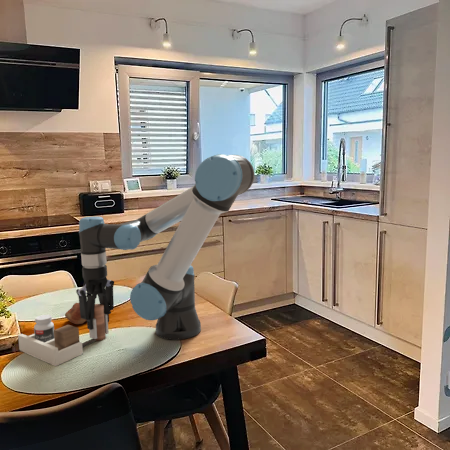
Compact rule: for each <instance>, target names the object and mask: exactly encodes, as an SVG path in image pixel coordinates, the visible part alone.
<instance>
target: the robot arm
mask: <svg viewBox="0 0 450 450" xmlns="http://www.w3.org/2000/svg"><path fill="white" fill-rule="evenodd" d="M254 181H255V170H254V167H253V165H252V163H251V162H250V160H249V159H247V158H246V157H244V155H243V156H242V155H239V154H222V153H220V154H218V153H217V154H214V155H212V156H209V157H207V158H206V159H204V160H203V161H202V162H200V164H199V165H198V167H197V169H196V171H195V174H194V183H195V184H194V185H193V186H192V187H190V188H188V189H187V190H185V191H183V192H182V193H180V194H178V195H176V196H175V197H173V198H171V199H170V200H168V201H166V202H164V203H163V204H161V205H159V206H158V207H156V208H154V209H152V210H151V211H149V212H147V213H145V214H143V215H142V216H140V217H138V218H136V219H134V220H129V221H125V222H121V223H118V224H115V223H114V224H113V223H111V224H109V223H105V220H104V218H103V217H102V216H99V215H98V216H97V215H96V216H86V217H82V218H80V220H78V221H79V222H78V225H79V226H78V235H79V243H80V256H81V259H80V260H81V265H82V268H81V272H82V273H81V274H82V279H83V287H81V288H80V289H79V288H78V289H75V290H76V291H75V293H76V294H77V298H78V303H79V306H80V315H81V318H82V319H85V320H86V328H87V329H88V331H89V338H91V339H97V328H96V319H94V309H95V304H96V299H97V298H98V301H99V304H103V305H104V318H105V334H106V335H108V334H109V333H110V332H109V322H110V314H111V313H112V311H113V310H114V285H115V280H111V279H108V278H107V277H108V266H107V265H106V264H107V251H106V249H111V250H112V249H113V250H115V249H116V250H123V251H127V250H135V249H137V248H138V246H139V245H140V243H142V242H144V241H148V240H151V239H153V238H155V237H156V236H157V235H158V234H159V233H162V232H163V231H165V230H167V229H169V228H170V227H172V226H174V225H176V224H178V226H177V228H176V230H175V232H174V233H173V235H172V237H171V239H170V241H169V242H168V244H167V246H166V248H165V250H164V252H163V254H162V255H161V257H160V259H159V261H158V262H157V264H154V265H151V266H150V267H149V269H148V270H147V272H146V274H145V276H144V277H143V280H141V282H139V283H137V284H136V285H134V287H133V288H132V289H131V291H130V295H129V296H130V297H129V300H130V304H131V307H132V309H133V310H134V311H133V312H135V313H136V315H137V316H138V317H140V318H142V319H144V320H145V321H156V320H157V321H156V324H155V334H156V336H158V337H159V338H162V339H165V340H170V341H171V340H174V341H176V340H177V341H178V340H185V339H186V340H187V339H190V338H193V337H195V336H197V335H198V334H200V333H201V331H202V327H201V326H202V324H201V321H200V319H199V315H198V313H197V310H196V298H195V297H196V296H195V272H194V271H195V269H194V267H193V265H192V263H193V262H194V260H195V259H196V257H197V255H198V253H199V251H200V250H201V248H202V246H203V245H204V243H205V241H206V239H207V238H208V236H209V234H210V233H211V231H212V229H213V228H214V226H215V224H216V222H217V221H218V219H219V218H220V216H221V214H224V213H228V212H229V211H230V210H231V207H232V205H233V204H234V202H235V200H237V198H238V196H240V195H242V194H244V193H246V192H247V191H248V190H249V189H251V187H252V185H253V183H254ZM179 222H180V223H179Z"/></svg>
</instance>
